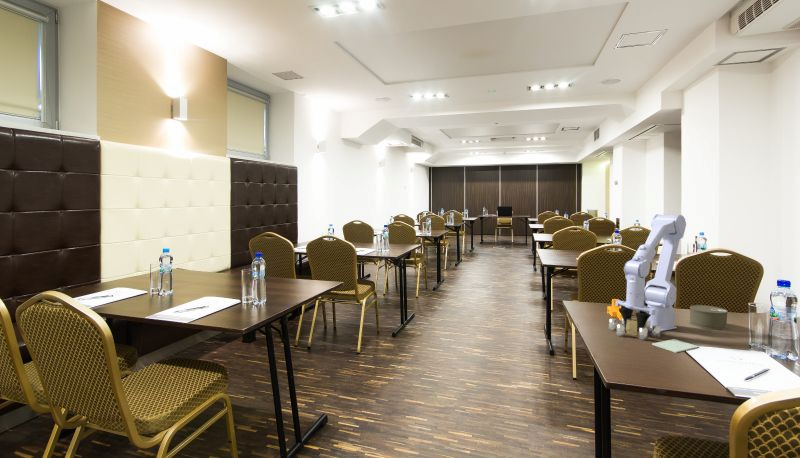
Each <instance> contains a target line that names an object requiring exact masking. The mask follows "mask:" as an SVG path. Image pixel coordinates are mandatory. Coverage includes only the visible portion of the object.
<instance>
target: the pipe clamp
mask: <svg viewBox="0 0 800 458" xmlns="http://www.w3.org/2000/svg"><path fill="white" fill-rule="evenodd" d="M618 300H620V299H617V298H611V305H607V306H606V307H607V308H606V310H607V311H606V313H607V314H608V313H609V314H610V315H611V318H617V317H618V318H619V321H620V322H622V315H621V313H620V312H619V308H621V306H615V304H616V301H618ZM609 314H608V315H609ZM610 315H609V316H610ZM618 318H617V319H618Z"/></svg>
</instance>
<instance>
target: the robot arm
mask: <svg viewBox="0 0 800 458" xmlns="http://www.w3.org/2000/svg"><path fill="white" fill-rule="evenodd" d="M650 226H651V230H650V232H649V234H648V237H647V238H646V241H645V243H644V244H640V245H639V247H638V248H637V250H636V252H635V253H634V255H633V257H632V259H630V260H628V261H626V262H625V264H624V267H623V273H624V274H625V275H624V276H625V280H626V294H625V295H626V297H625V300H620V299H619V300H618V301H616V304H615V306H621V308H619V312H620V313H621V315H622V318H623V321H624V325H625V329H626V319H627V318H633V317H632V316H633V313H634V311H636V312H635V316H636V319H637V331H638V332H639V327H644V326H645V324H646V322H647V320H650V321H651V326H650V329H652V325H659V326H661V330H660V332H664V331H670V330H675V329H677V326H675V322H676V321H675V317H676V311H675V309H674V307H673V305H674V304H675V302H676V300H677V287H676V286H675V285H674V284H673V283H672V282H671V278H672V274H673V269H674V266H675V260H676V259H677V258H676V256H677V254H678V253H677V252H678V249H679V244H680V240H681V239H683V238H684V235H685V232H686V227H687V222H686V218H685V217H684V215H682V214H658V213H657V214H654V215H653V217H652V218H651V221H650ZM661 240H662V245H661V250H660V252H659V257H658V262H657V267H656V271H655V275H654V278H652V279H650V280H648V281H646V277H648V275H649V273H650V270H651V269H650V268H651V262H652V261H653V259H654V257H655V255H656V254H657V251H656V247H657V246H658V244H659V243H660V242H661ZM645 304H647V305H645Z"/></svg>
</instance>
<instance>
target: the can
mask: <svg viewBox="0 0 800 458" xmlns="http://www.w3.org/2000/svg"><path fill="white" fill-rule="evenodd" d="M728 314H729V311H728V310H727V309H725V308H722V307H719V306H713V305H704V304H694V305H690V306H689V325H691V326H693V327H697V328H700V329H705V330H713V331H724V330H726V329H727V324H728V323H727V320H728Z"/></svg>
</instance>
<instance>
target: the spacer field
mask: <svg viewBox="0 0 800 458" xmlns="http://www.w3.org/2000/svg"><path fill="white" fill-rule="evenodd" d="M650 326H651V321H650V320H647V322H646V324H645V326H644V327H639V335H638V340H640V341H648V333H649V332H651V338H654V339H660V338H661V331H660V330H661V326H659V325H652V328H650ZM608 330H610V331H616V336H617V337H625V335H626V328H625V325H624V321H623V318H622V321H621V323H618V318H615V317H611V318H609V319H608Z"/></svg>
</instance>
